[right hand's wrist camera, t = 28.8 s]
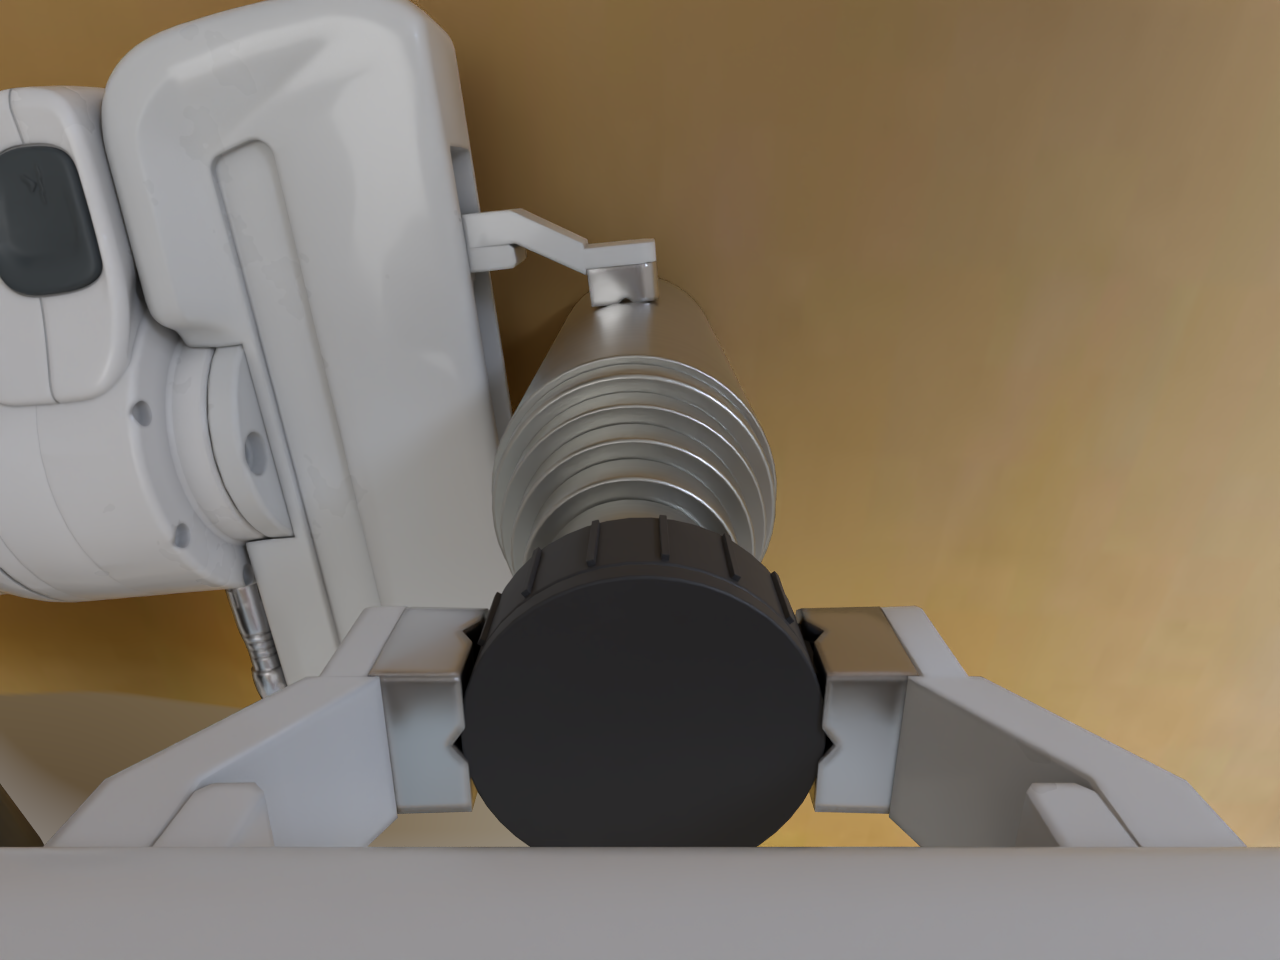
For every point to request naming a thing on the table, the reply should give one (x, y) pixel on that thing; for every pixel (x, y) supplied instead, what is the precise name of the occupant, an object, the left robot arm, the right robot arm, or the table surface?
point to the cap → (643, 693)
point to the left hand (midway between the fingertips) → (668, 390)
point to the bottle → (633, 432)
